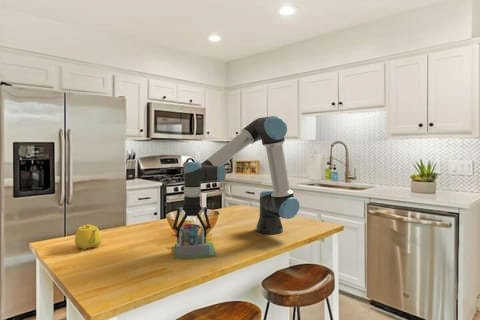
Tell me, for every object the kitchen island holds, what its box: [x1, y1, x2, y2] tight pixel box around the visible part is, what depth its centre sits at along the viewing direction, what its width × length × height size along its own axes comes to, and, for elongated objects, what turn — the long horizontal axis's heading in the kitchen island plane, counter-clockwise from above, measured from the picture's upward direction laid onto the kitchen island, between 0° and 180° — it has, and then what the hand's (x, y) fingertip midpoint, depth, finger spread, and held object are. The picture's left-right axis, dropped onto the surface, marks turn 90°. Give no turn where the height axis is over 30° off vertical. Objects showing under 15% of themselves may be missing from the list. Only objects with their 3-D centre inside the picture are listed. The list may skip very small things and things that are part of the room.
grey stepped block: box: [174, 234, 217, 260], centre depth 149 cm, size 18×18×5 cm
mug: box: [180, 223, 204, 246], centre depth 149 cm, size 12×9×11 cm
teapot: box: [74, 223, 102, 251], centre depth 153 cm, size 18×11×11 cm, turn 42°
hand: (191, 243), depth 149 cm, fingers open, 10 cm apart
